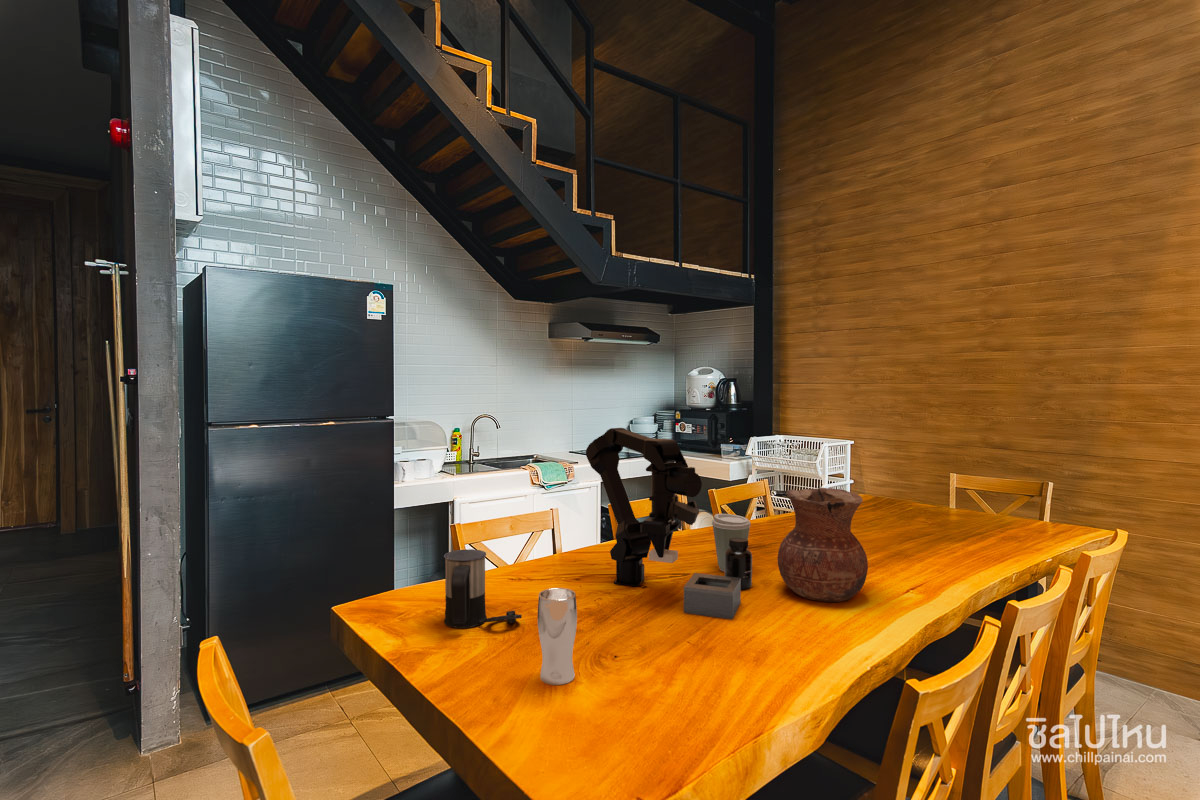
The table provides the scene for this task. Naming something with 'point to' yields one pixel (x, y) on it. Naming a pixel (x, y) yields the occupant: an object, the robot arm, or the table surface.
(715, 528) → the disposable coffee cup
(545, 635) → the beer glass
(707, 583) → the grey hollow block
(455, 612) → the milk frother
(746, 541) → the supplement bottle
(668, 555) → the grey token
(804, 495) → the brown clay vase
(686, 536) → the table surface
